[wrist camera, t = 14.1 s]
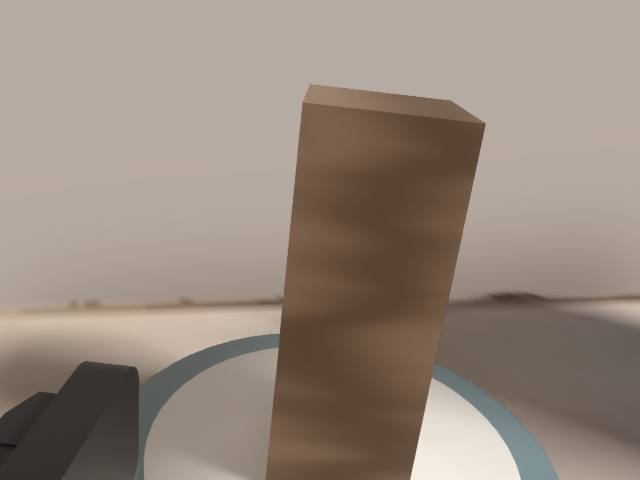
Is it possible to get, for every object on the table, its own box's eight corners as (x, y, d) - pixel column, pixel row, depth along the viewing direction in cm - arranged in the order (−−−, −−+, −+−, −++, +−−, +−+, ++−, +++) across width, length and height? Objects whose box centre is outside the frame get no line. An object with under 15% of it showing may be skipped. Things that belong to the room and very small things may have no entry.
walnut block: (264, 486, 18) (302, 102, 14) (277, 399, 22) (310, 84, 18) (405, 501, 18) (485, 123, 14) (392, 411, 22) (450, 100, 18)
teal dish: (-19, 689, 13) (-25, 647, 13) (172, 337, 28) (172, 312, 28) (663, 764, 13) (683, 726, 13) (493, 374, 28) (499, 350, 28)
